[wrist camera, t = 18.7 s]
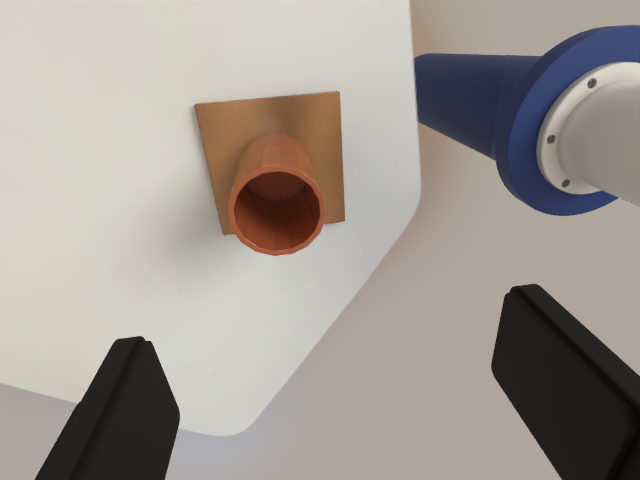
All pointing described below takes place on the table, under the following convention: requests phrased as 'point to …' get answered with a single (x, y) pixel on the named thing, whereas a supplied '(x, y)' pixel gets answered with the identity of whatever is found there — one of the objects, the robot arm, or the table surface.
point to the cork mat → (274, 117)
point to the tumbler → (276, 197)
